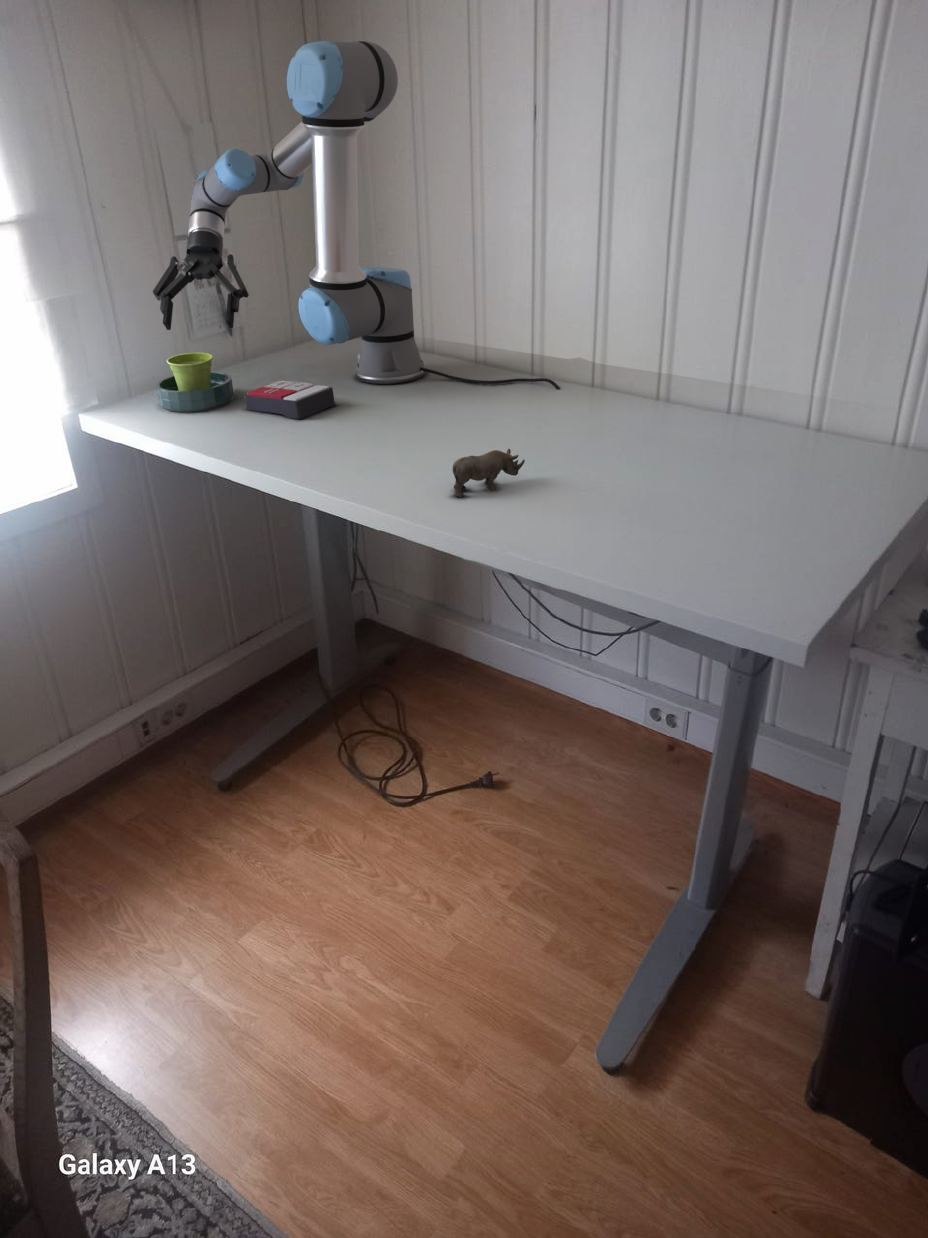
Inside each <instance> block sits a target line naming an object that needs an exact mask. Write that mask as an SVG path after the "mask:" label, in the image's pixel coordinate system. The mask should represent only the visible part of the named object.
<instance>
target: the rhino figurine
mask: <svg viewBox="0 0 928 1238" xmlns="http://www.w3.org/2000/svg"><path fill="white" fill-rule="evenodd" d="M511 452H512V450H511V449H510V448H508V449H507V450H506V452H503V451H501V450H498V449H495V450H494V449H493V450H490V451H488V452H485V453H484V454H481V455H468V456H462V457H460V458H458V459H457V460H455V461H454V462H453V463H452V474H453V476H454V479H455V484H453V489H454V493H453V496H454V497H455V498H462V497H464V496H465V493H464V491H467V487H466V486H465V484H466V483H469V481H470V480H472V481H477V482H480V481H483V480H485V481H484V485H485V486H486V488H487V489H488V490H490V491H494V490H496V489H497V486H496V485H495V484H494V482H495V480H496V479H497V477H498V475H500V473H501V471H503V473H505V474H507V475H510V476H513V477H514V476H515V477H516V476H517V475H519V470H521V468H522V467H523V465H524V464H525V460H526V459H522V460H521V462H520V463H519V459H518V458H519V456H520V455H519V454H515V455H512V454H511ZM514 460H515V461H514Z"/></svg>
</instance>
